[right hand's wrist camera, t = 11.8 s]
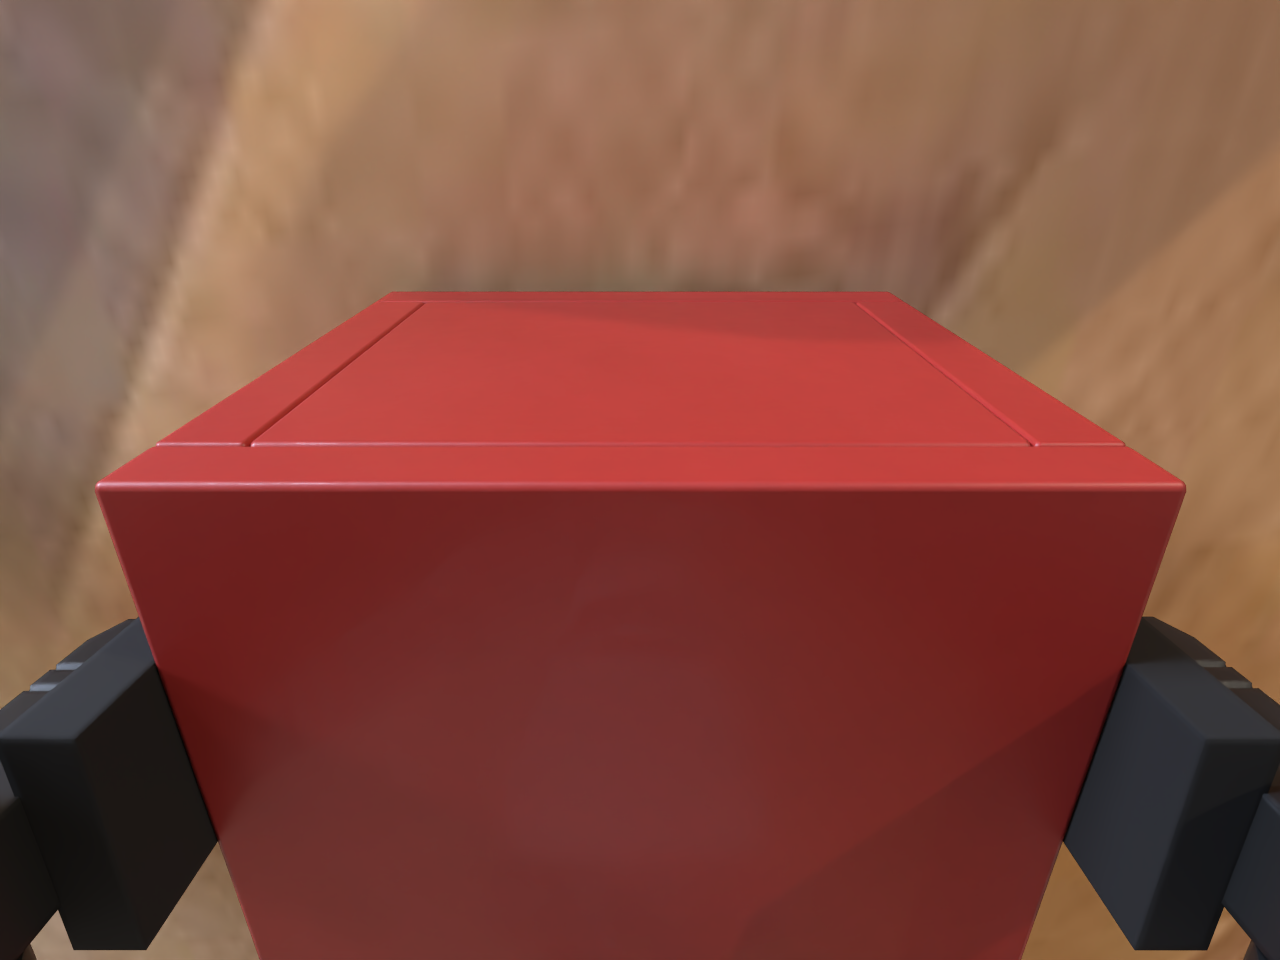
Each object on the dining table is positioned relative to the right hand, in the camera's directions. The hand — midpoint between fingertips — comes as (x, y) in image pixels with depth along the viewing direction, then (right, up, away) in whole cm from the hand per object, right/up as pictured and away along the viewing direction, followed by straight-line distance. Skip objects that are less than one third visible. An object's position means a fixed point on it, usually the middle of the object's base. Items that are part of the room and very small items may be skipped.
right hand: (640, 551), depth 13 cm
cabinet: (0, -1, +5) cm, 5 cm away
